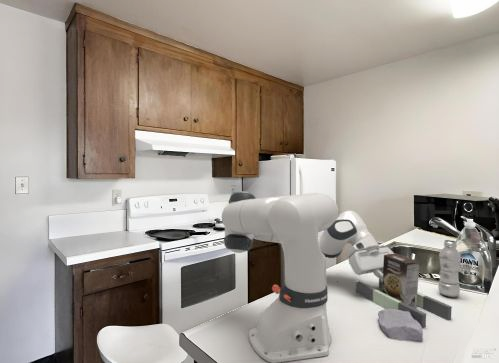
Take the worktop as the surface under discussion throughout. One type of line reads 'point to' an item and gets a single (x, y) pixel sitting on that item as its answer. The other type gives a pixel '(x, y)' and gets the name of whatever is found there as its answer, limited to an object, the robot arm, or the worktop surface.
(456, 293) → the plastic bottle
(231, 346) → the worktop surface
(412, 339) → the stone block
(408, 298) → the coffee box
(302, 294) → the robot arm
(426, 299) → the track
